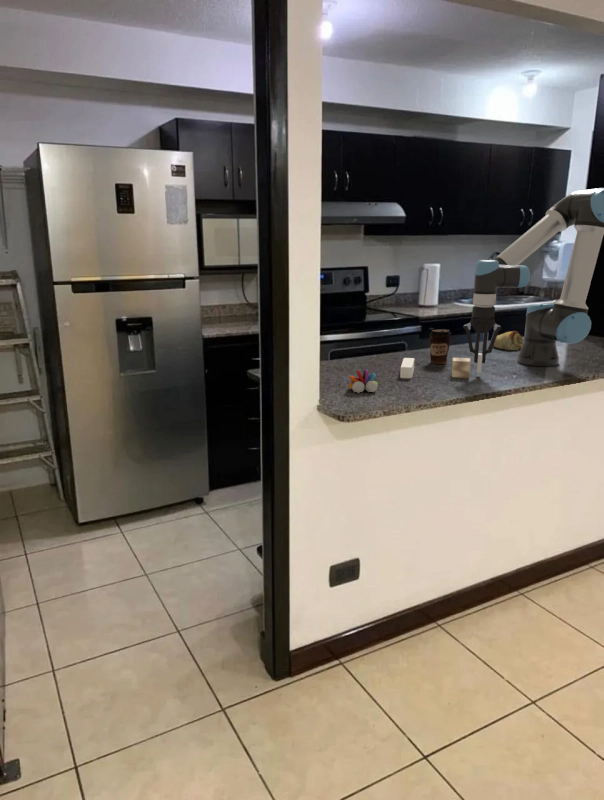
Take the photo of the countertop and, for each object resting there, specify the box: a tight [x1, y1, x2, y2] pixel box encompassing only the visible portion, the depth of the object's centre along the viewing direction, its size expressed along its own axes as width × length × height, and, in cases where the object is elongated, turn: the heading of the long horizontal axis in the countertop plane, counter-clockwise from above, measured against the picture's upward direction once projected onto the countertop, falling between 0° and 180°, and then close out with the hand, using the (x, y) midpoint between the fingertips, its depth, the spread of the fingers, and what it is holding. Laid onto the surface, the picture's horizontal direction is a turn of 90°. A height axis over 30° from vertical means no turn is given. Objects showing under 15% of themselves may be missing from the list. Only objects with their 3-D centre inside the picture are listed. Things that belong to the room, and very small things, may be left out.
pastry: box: [493, 330, 524, 351], centre depth 262 cm, size 14×12×8 cm
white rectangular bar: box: [399, 357, 416, 379], centre depth 219 cm, size 4×16×4 cm, turn 167°
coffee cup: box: [429, 328, 452, 365], centre depth 233 cm, size 9×8×13 cm
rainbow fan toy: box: [348, 368, 379, 394], centre depth 195 cm, size 8×10×7 cm
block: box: [451, 357, 471, 379], centre depth 214 cm, size 6×6×6 cm
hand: (478, 371), depth 213 cm, fingers closed
